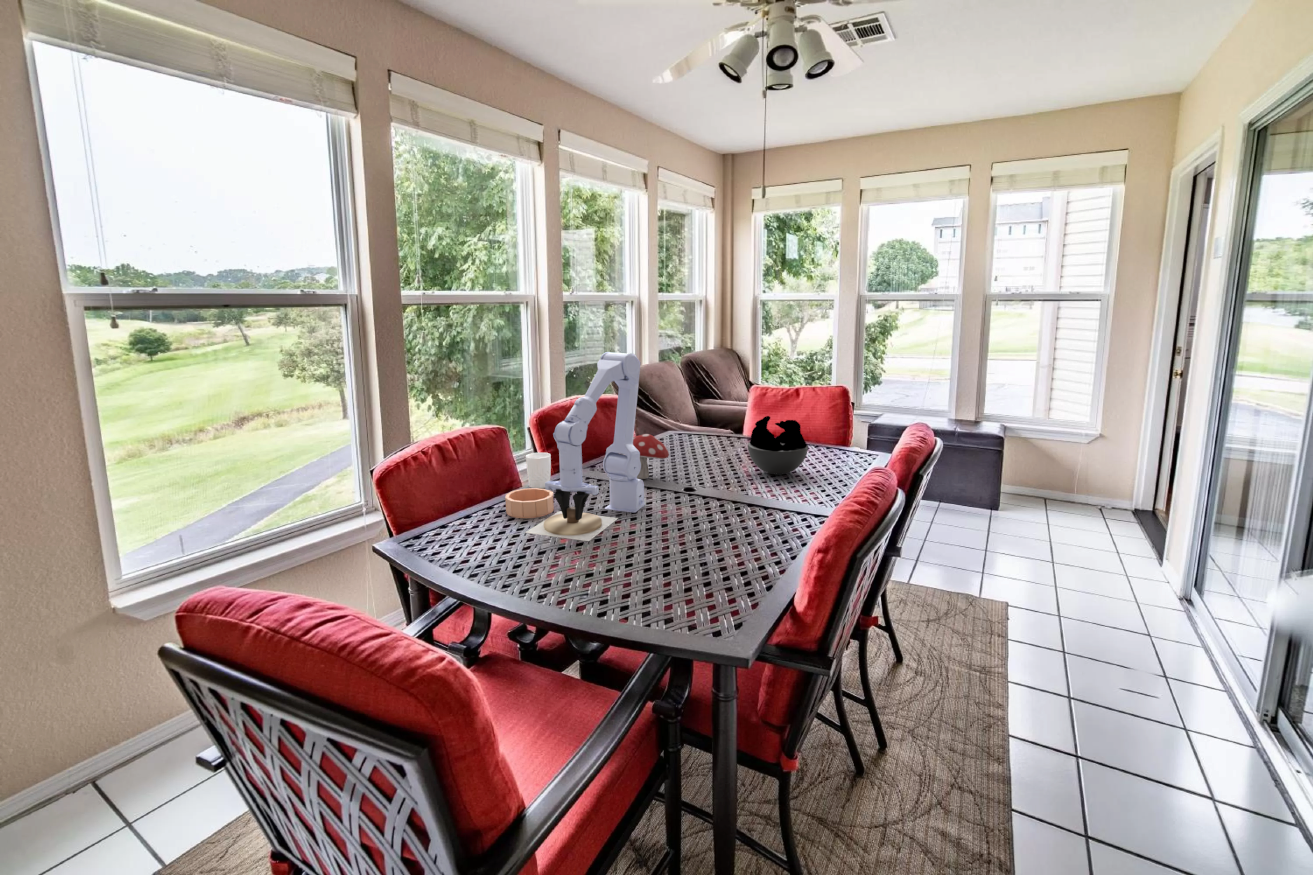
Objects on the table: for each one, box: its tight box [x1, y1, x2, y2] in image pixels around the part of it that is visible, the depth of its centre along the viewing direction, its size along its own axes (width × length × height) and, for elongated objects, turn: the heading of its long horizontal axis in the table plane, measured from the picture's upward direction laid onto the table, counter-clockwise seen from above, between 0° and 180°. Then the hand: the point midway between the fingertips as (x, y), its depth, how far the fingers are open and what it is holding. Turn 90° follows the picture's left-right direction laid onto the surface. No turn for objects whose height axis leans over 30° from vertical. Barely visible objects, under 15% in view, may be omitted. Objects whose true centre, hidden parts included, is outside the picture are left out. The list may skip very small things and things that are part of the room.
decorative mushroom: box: [633, 433, 670, 480], centre depth 215 cm, size 16×16×15 cm
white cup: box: [525, 452, 552, 489], centre depth 208 cm, size 8×8×10 cm
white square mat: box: [524, 510, 619, 542], centre depth 171 cm, size 18×18×1 cm
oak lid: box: [543, 506, 602, 535], centre depth 170 cm, size 15×15×4 cm
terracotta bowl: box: [504, 487, 555, 519], centre depth 183 cm, size 13×13×5 cm
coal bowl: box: [747, 415, 809, 476], centre depth 219 cm, size 20×20×19 cm
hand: (572, 518), depth 170 cm, fingers closed on oak lid, 3 cm apart
